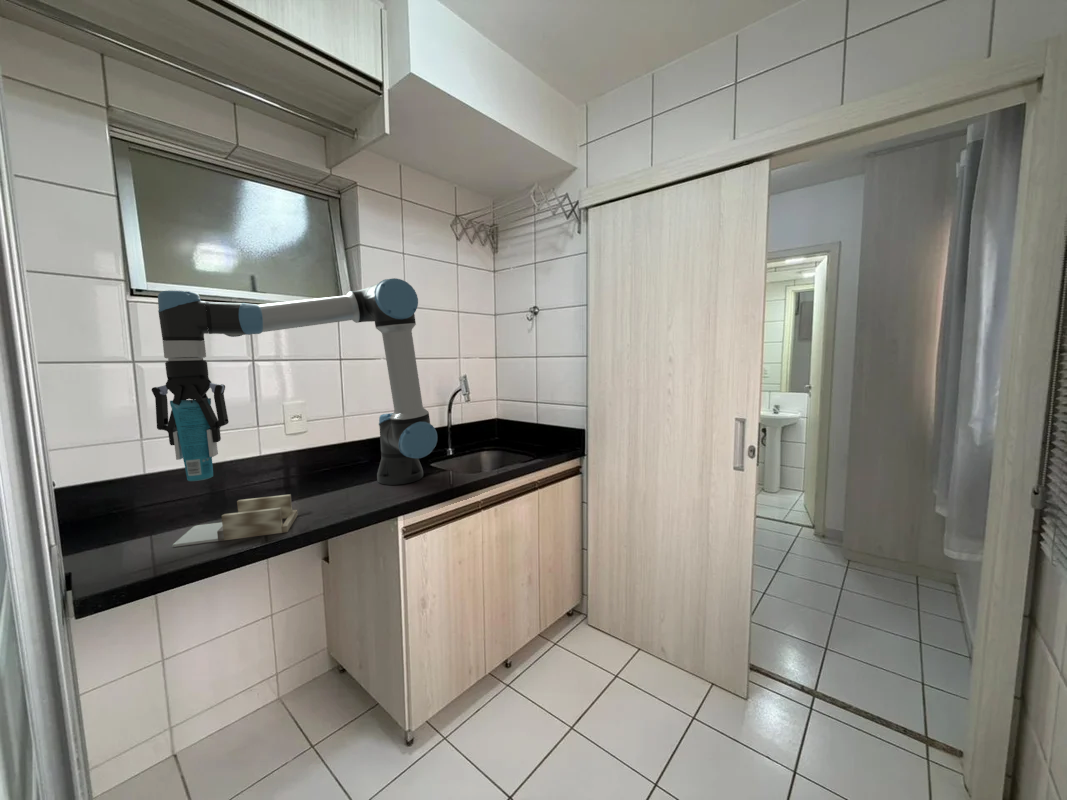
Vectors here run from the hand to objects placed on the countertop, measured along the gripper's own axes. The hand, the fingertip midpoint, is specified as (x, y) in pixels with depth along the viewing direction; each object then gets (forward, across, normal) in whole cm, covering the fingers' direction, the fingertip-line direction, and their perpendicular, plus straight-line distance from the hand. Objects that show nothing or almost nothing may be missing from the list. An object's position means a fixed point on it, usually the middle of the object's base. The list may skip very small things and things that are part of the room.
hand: (197, 456), depth 100 cm
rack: (+19, -12, 0) cm, 23 cm away
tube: (+6, 0, 0) cm, 6 cm away
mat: (+19, 0, 0) cm, 19 cm away
